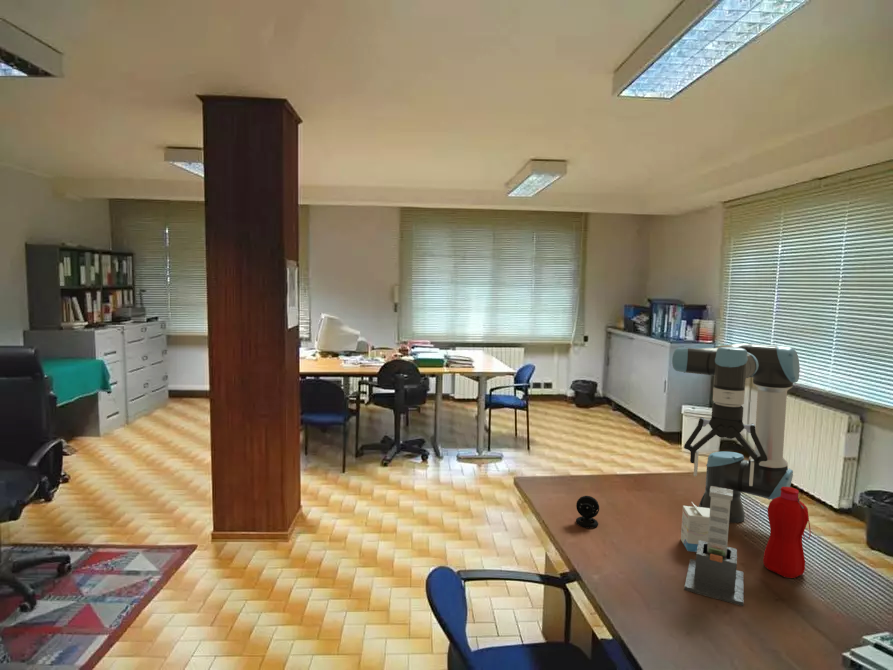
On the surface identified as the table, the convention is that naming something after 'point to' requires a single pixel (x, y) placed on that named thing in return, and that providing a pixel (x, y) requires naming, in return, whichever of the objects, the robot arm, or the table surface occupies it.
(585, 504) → the webcam
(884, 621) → the table surface
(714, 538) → the column
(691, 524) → the ink box
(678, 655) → the table surface
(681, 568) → the table surface
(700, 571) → the stand base
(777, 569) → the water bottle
